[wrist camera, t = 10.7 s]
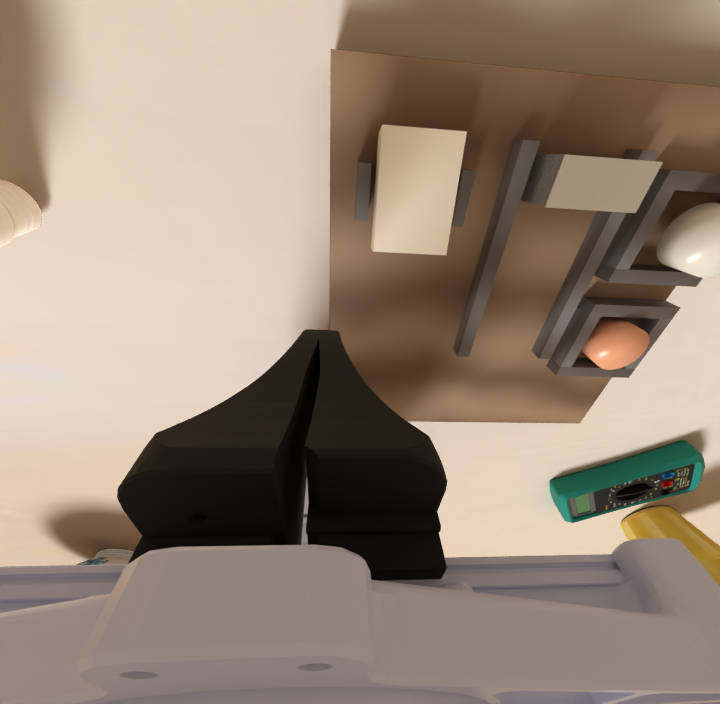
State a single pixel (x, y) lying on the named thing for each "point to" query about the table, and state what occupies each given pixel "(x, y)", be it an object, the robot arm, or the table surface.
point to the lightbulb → (16, 212)
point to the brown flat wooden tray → (507, 234)
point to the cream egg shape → (693, 241)
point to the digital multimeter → (628, 482)
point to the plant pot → (674, 534)
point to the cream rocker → (415, 189)
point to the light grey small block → (589, 182)
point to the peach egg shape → (615, 343)
